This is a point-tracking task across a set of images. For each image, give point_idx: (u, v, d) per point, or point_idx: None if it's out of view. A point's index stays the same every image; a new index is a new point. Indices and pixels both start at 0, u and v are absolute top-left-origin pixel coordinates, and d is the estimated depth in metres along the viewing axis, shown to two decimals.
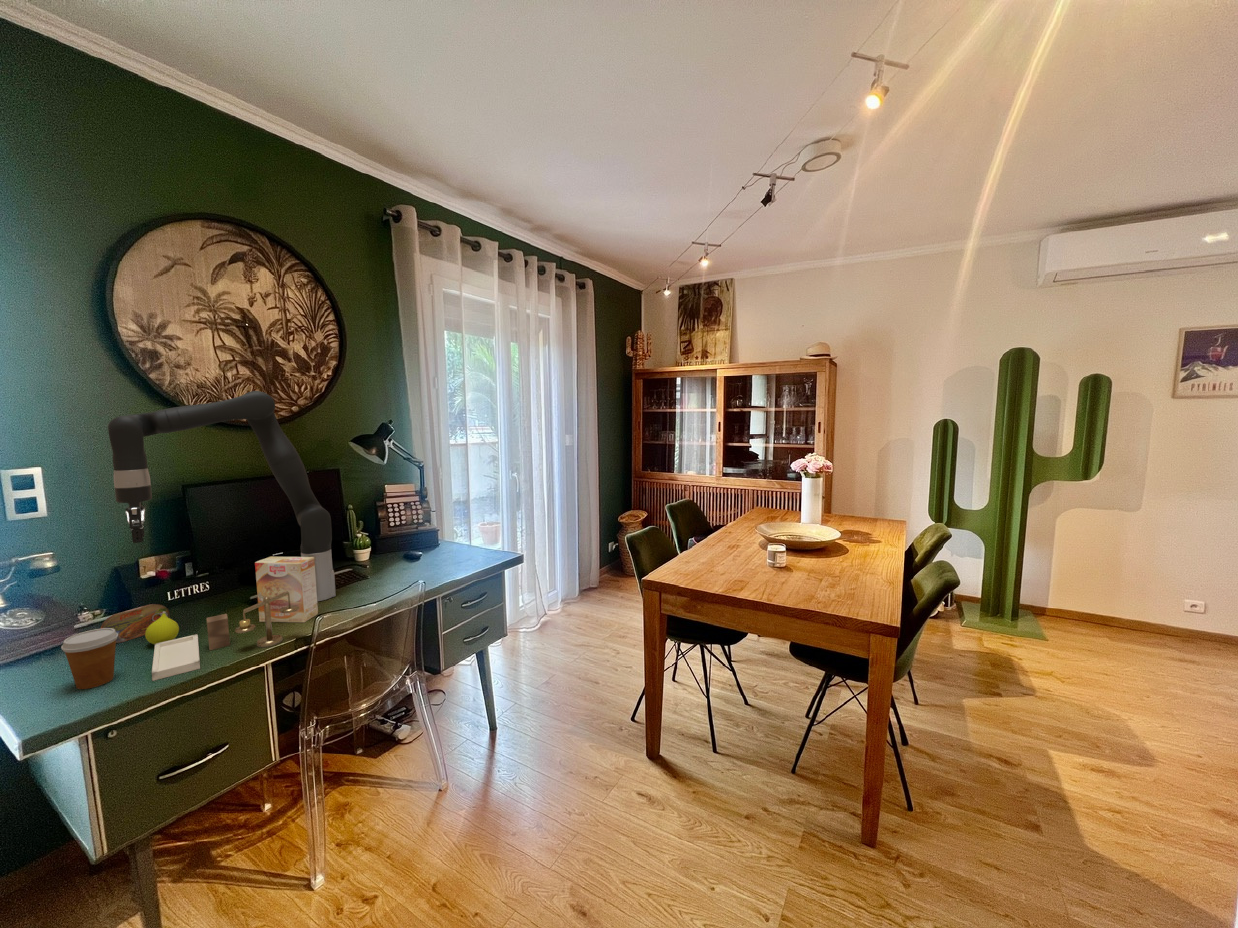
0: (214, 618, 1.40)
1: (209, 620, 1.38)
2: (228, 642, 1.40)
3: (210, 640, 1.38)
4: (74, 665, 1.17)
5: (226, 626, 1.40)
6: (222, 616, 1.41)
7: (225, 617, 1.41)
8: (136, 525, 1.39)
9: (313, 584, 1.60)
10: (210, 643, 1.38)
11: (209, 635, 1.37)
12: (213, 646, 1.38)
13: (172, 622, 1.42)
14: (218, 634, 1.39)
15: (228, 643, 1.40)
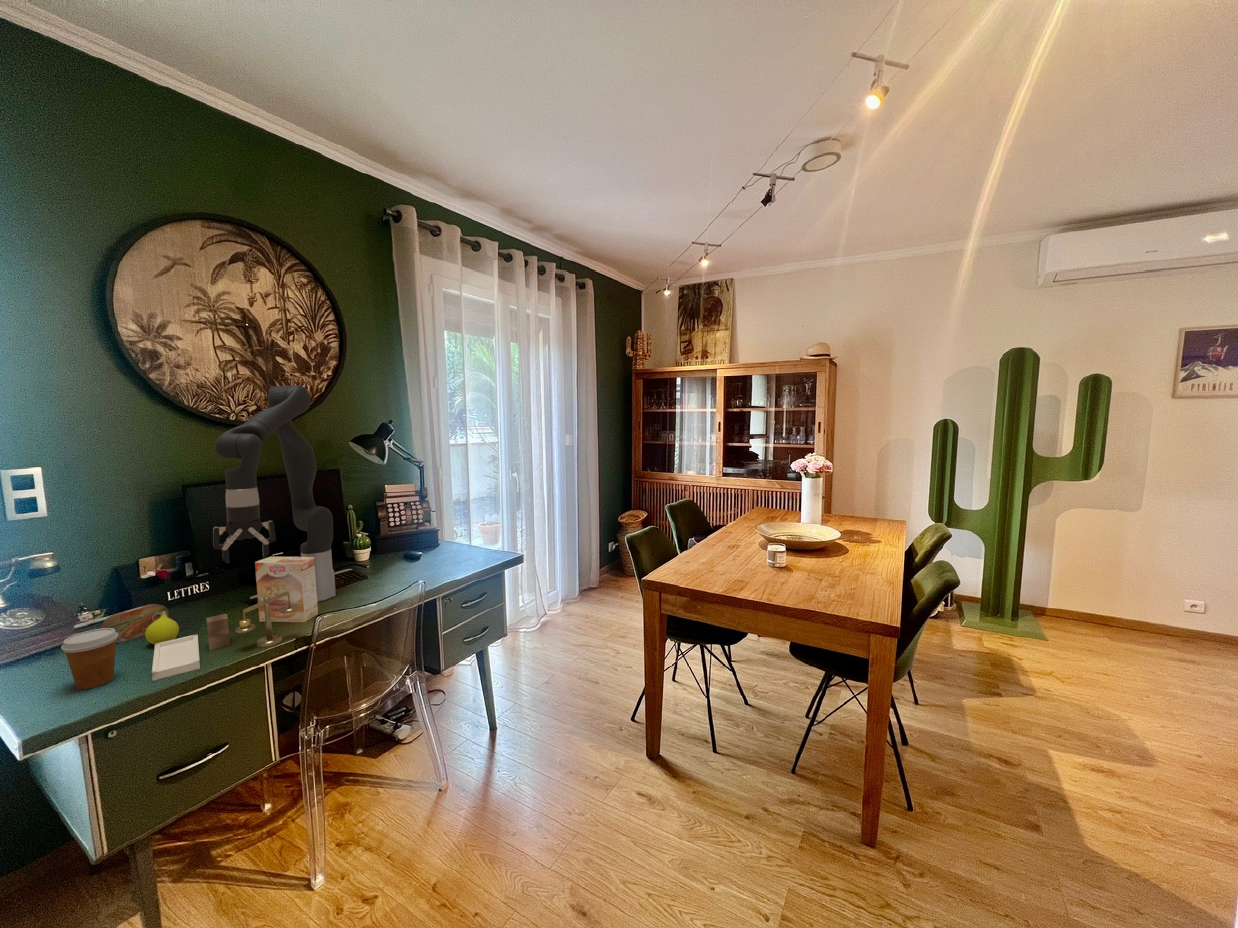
0: (214, 618, 1.40)
1: (209, 620, 1.38)
2: (228, 642, 1.40)
3: (210, 640, 1.38)
4: (74, 665, 1.17)
5: (226, 626, 1.40)
6: (222, 616, 1.41)
7: (225, 617, 1.40)
8: None
9: (313, 584, 1.60)
10: (210, 643, 1.38)
11: (209, 635, 1.37)
12: (213, 646, 1.38)
13: (172, 622, 1.42)
14: (218, 634, 1.39)
15: (228, 643, 1.40)
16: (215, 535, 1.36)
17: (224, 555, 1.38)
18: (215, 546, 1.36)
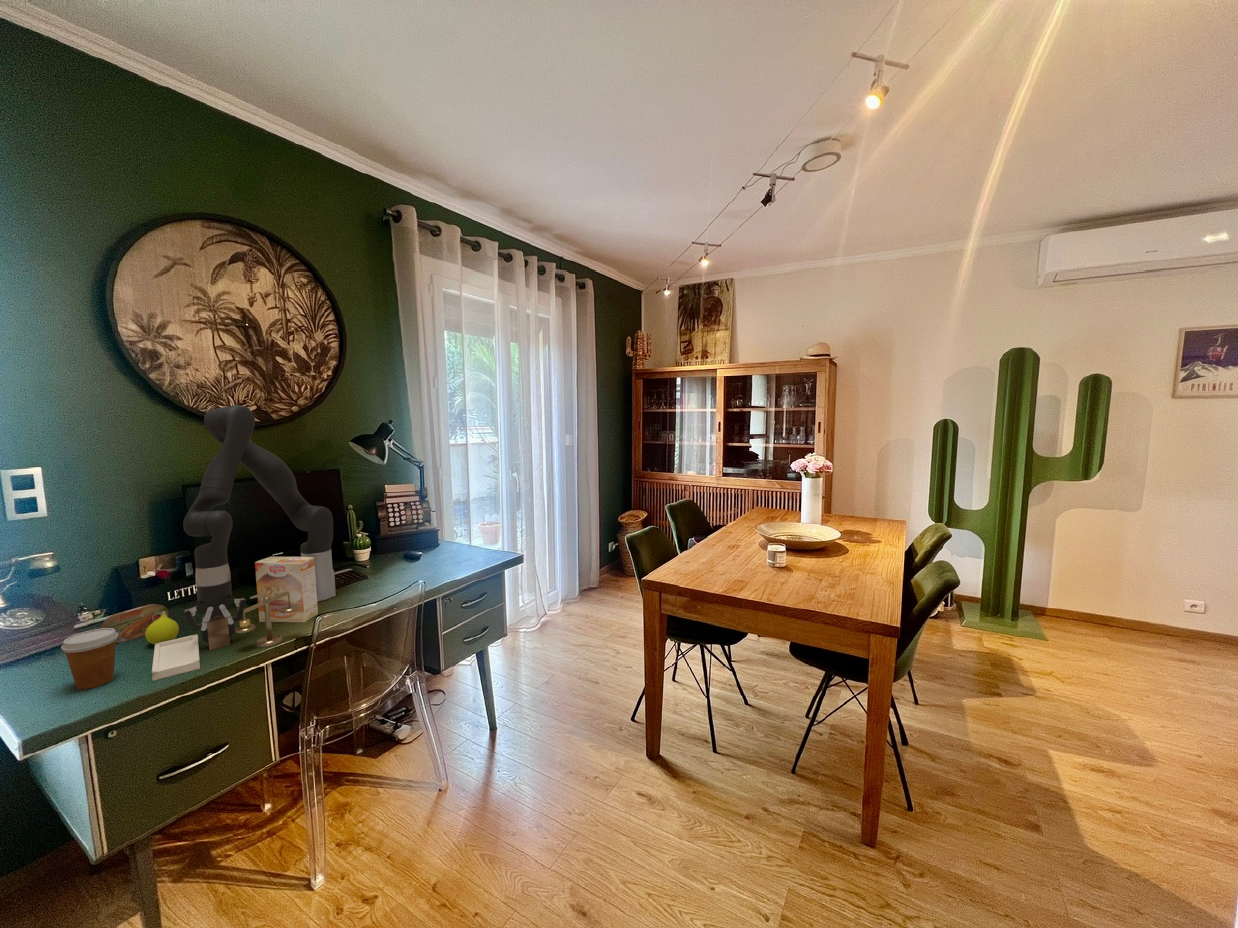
0: (214, 618, 1.40)
1: (209, 620, 1.38)
2: (228, 642, 1.40)
3: (210, 640, 1.38)
4: (74, 665, 1.17)
5: (226, 626, 1.40)
6: (222, 616, 1.41)
7: None
8: None
9: (313, 584, 1.60)
10: (210, 643, 1.38)
11: (209, 635, 1.37)
12: (213, 646, 1.38)
13: (172, 622, 1.42)
14: (218, 634, 1.39)
15: (228, 643, 1.40)
16: (188, 618, 1.35)
17: (203, 635, 1.38)
18: (193, 627, 1.36)
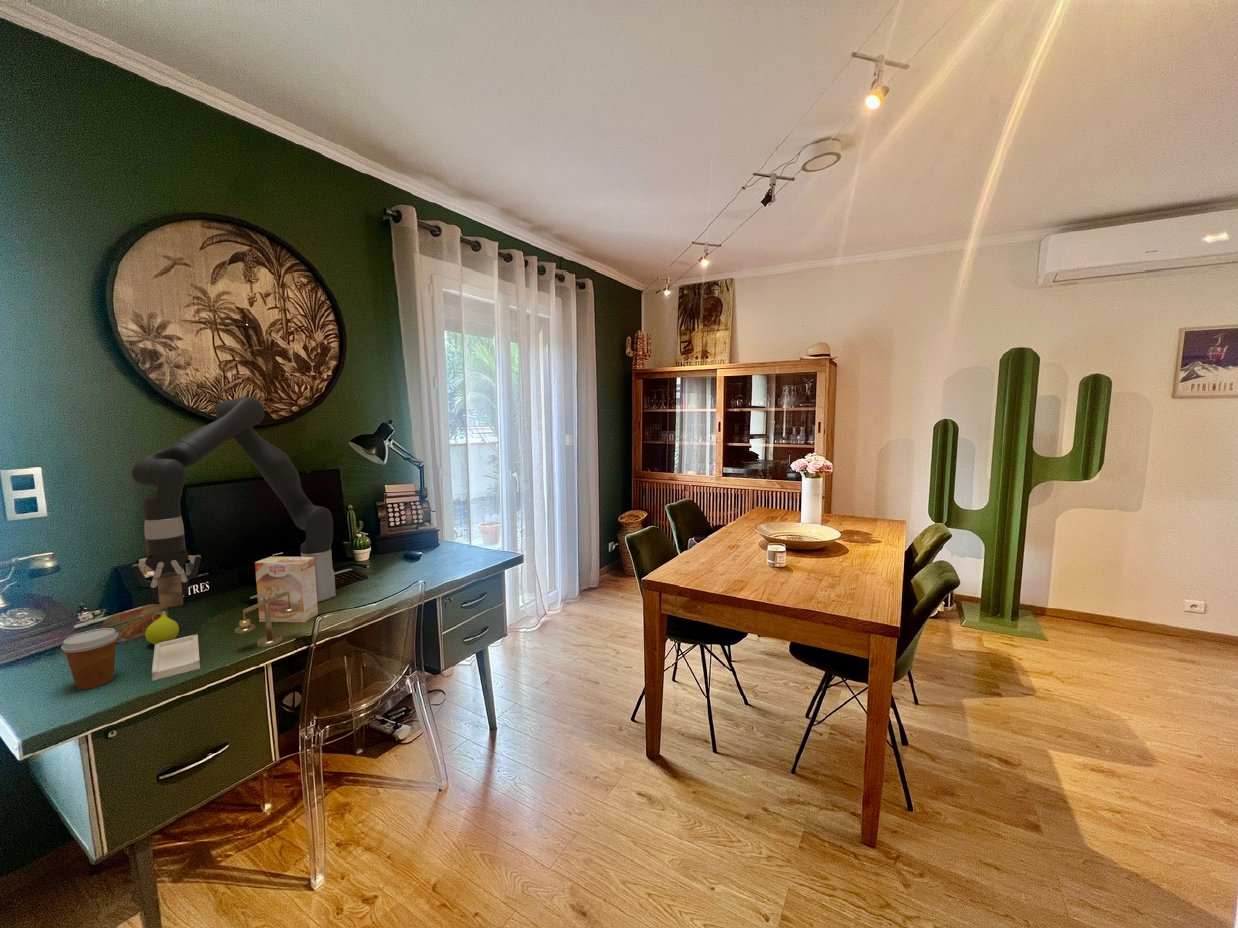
0: (166, 575, 1.30)
1: (160, 577, 1.29)
2: (181, 601, 1.31)
3: (161, 598, 1.28)
4: (74, 665, 1.17)
5: (179, 583, 1.30)
6: (175, 573, 1.32)
7: None
8: None
9: (313, 584, 1.60)
10: (161, 601, 1.28)
11: (159, 592, 1.28)
12: (164, 604, 1.29)
13: (172, 622, 1.42)
14: (170, 592, 1.29)
15: (181, 602, 1.31)
16: (136, 573, 1.25)
17: (153, 592, 1.28)
18: (142, 584, 1.26)
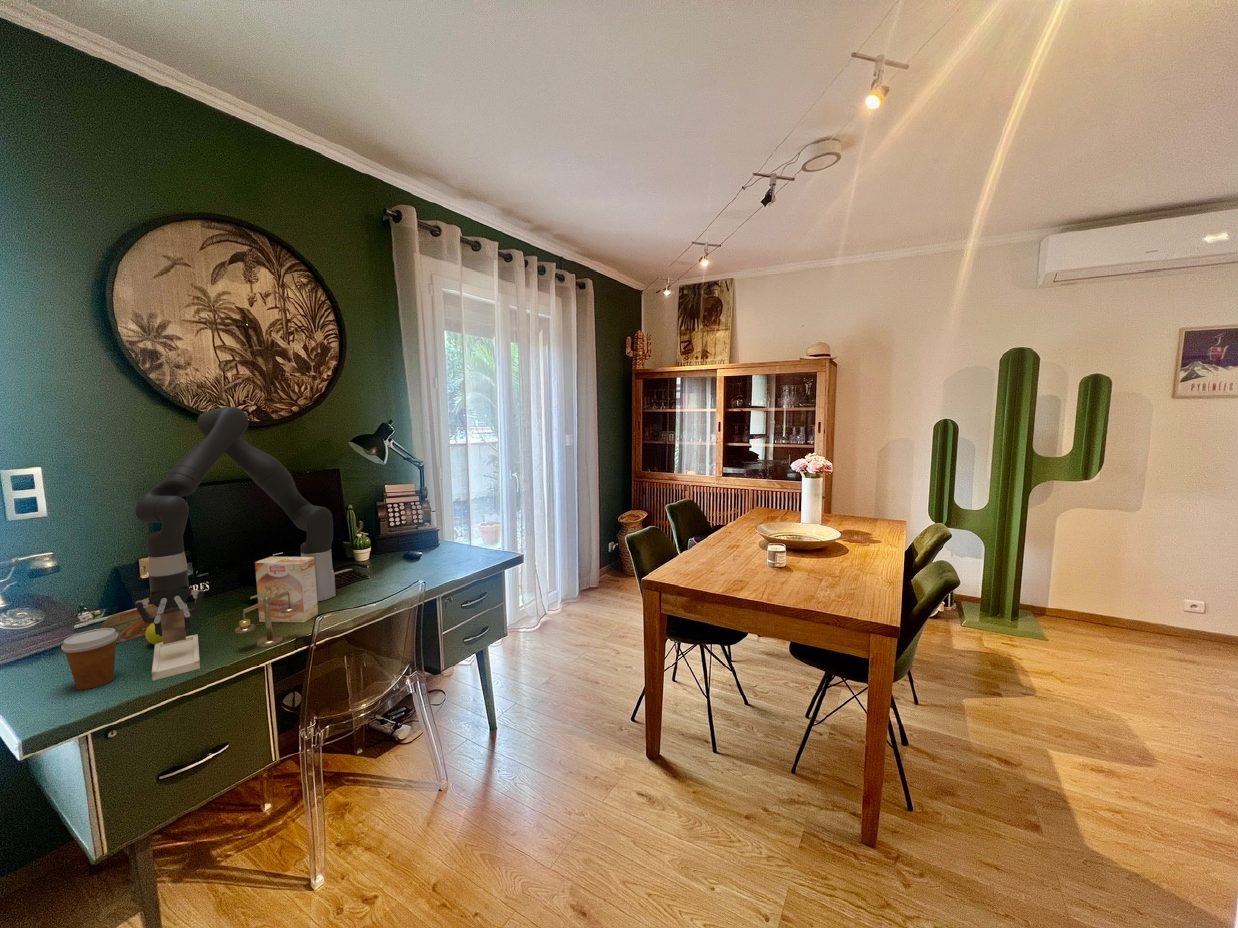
0: (169, 610, 1.31)
1: (163, 612, 1.30)
2: (184, 636, 1.32)
3: (164, 634, 1.29)
4: (74, 665, 1.17)
5: (182, 619, 1.31)
6: (178, 608, 1.32)
7: None
8: None
9: (313, 584, 1.60)
10: (164, 637, 1.29)
11: (163, 628, 1.29)
12: (167, 640, 1.29)
13: None
14: (173, 627, 1.30)
15: (184, 637, 1.32)
16: (140, 610, 1.26)
17: (157, 628, 1.29)
18: (146, 620, 1.27)
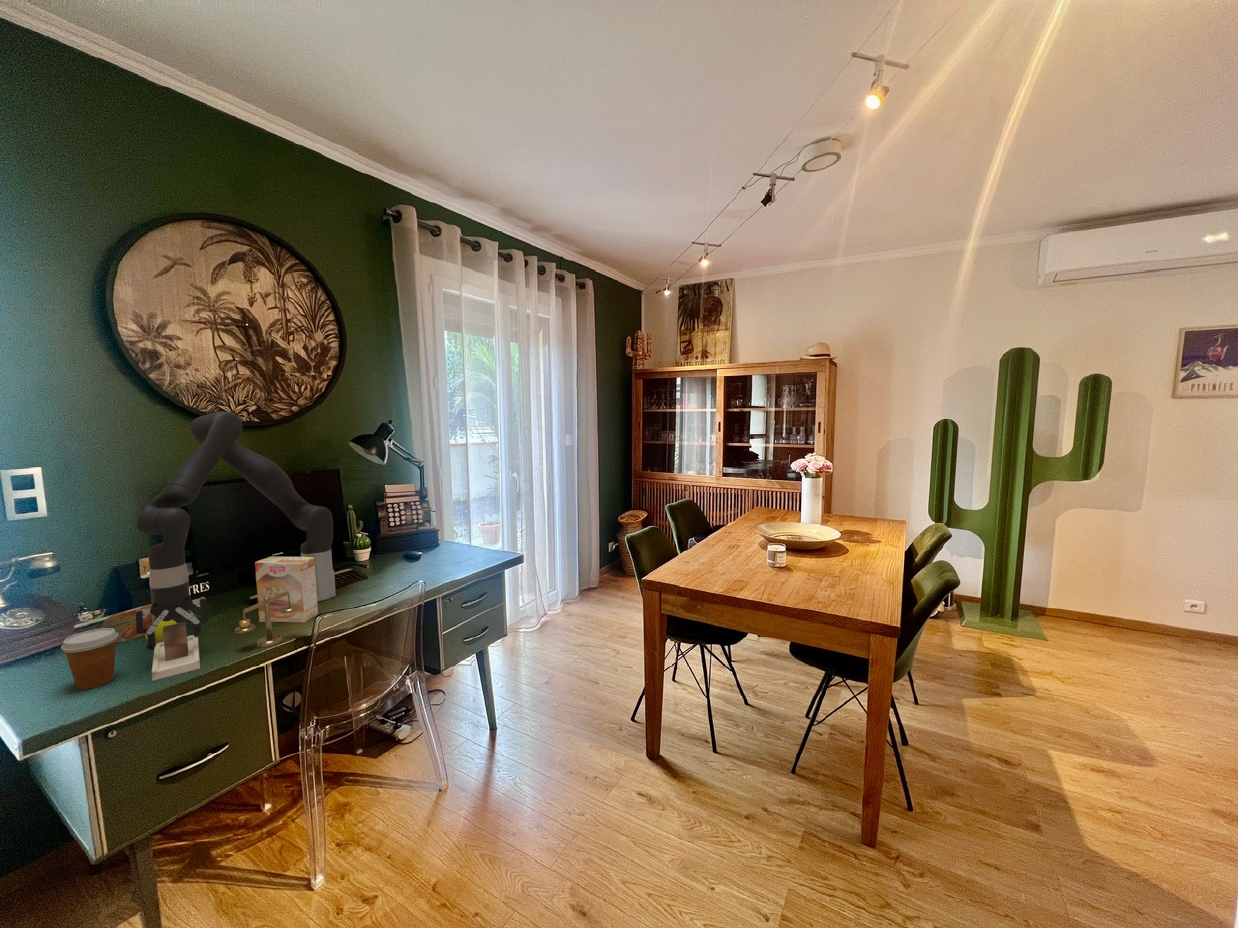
0: (171, 627, 1.32)
1: (165, 629, 1.30)
2: (186, 652, 1.32)
3: (166, 650, 1.30)
4: (74, 665, 1.17)
5: (184, 635, 1.32)
6: (180, 625, 1.33)
7: (183, 626, 1.32)
8: None
9: (313, 584, 1.60)
10: (166, 654, 1.30)
11: (165, 645, 1.29)
12: (170, 657, 1.30)
13: (172, 622, 1.42)
14: (175, 644, 1.31)
15: (186, 653, 1.32)
16: (138, 619, 1.26)
17: (149, 639, 1.28)
18: (138, 631, 1.26)
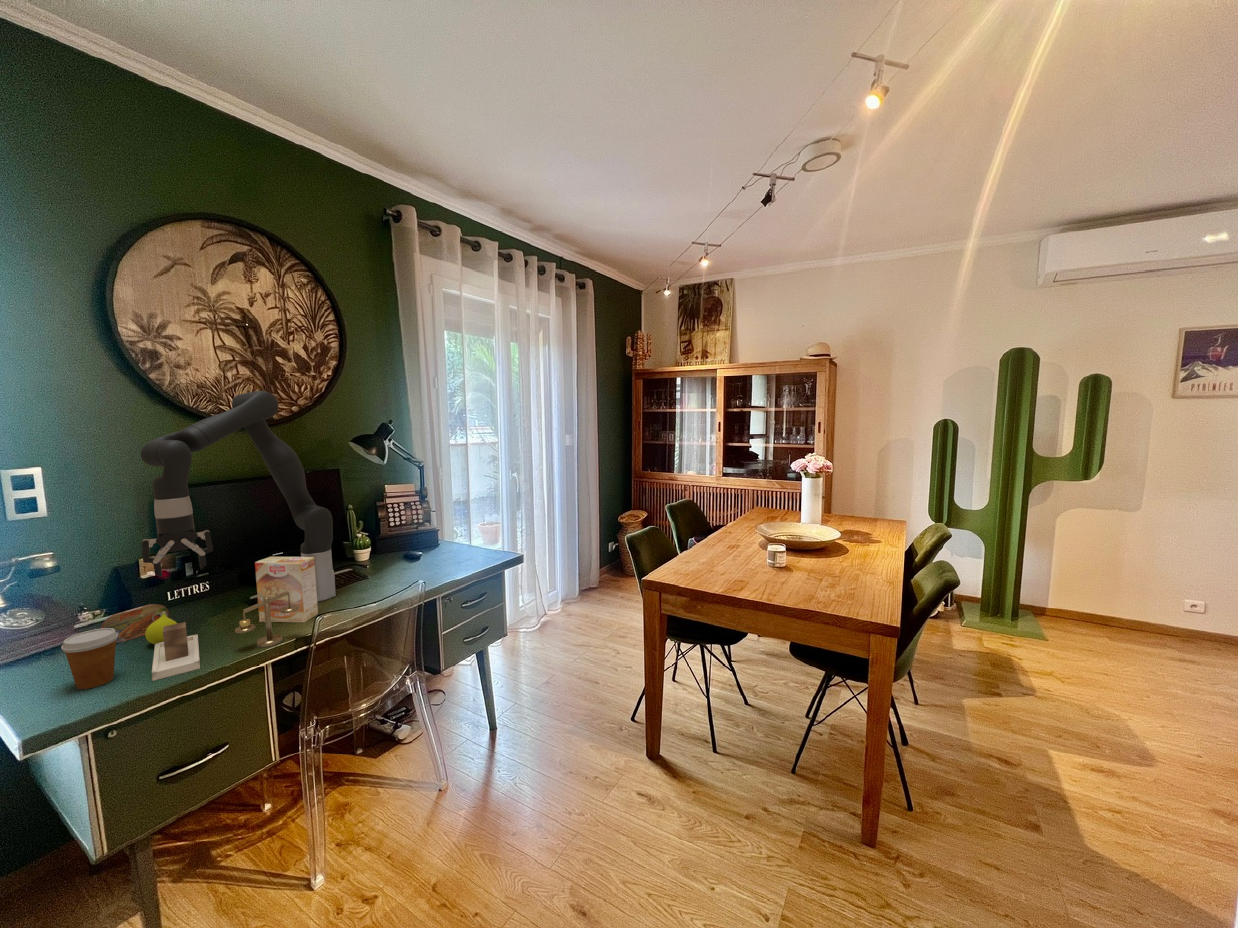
0: (171, 627, 1.32)
1: (165, 629, 1.30)
2: (186, 652, 1.32)
3: (166, 650, 1.30)
4: (74, 665, 1.17)
5: (184, 635, 1.32)
6: (180, 625, 1.33)
7: (183, 626, 1.32)
8: None
9: (313, 584, 1.60)
10: (166, 654, 1.30)
11: (165, 645, 1.29)
12: (170, 657, 1.30)
13: (172, 622, 1.42)
14: (175, 644, 1.31)
15: (186, 653, 1.32)
16: (144, 548, 1.29)
17: (156, 568, 1.31)
18: (145, 559, 1.29)
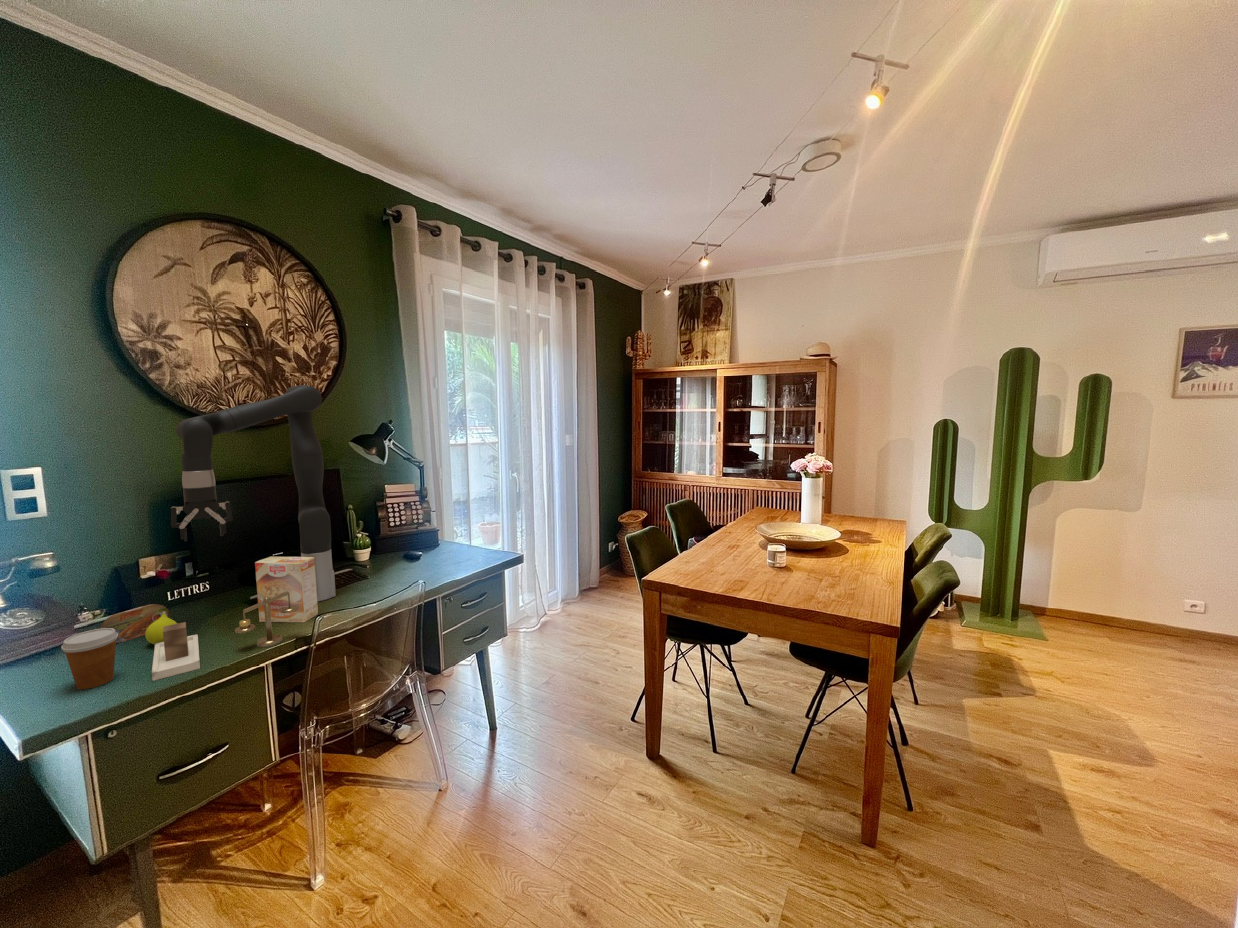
0: (171, 627, 1.32)
1: (165, 629, 1.30)
2: (186, 652, 1.32)
3: (166, 650, 1.30)
4: (74, 665, 1.17)
5: (184, 635, 1.32)
6: (180, 625, 1.33)
7: (183, 626, 1.32)
8: (231, 517, 1.54)
9: (313, 584, 1.60)
10: (166, 654, 1.30)
11: (165, 645, 1.29)
12: (170, 657, 1.30)
13: (172, 622, 1.42)
14: (175, 644, 1.31)
15: (186, 653, 1.32)
16: (172, 514, 1.44)
17: (182, 533, 1.46)
18: (172, 525, 1.44)
